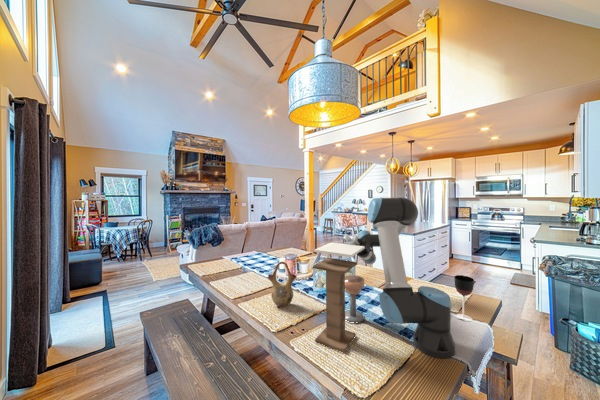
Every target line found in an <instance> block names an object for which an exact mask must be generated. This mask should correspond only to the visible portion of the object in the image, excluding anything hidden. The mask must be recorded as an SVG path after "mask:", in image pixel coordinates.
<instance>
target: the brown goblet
mask: <svg viewBox="0 0 600 400" xmlns="http://www.w3.org/2000/svg"><path fill="white" fill-rule="evenodd" d="M364 288H365V278H364V277H362V276H360V275H356V274H347V275H346V274H345V293H347V294H349V310H345V320H347V321H349V322H354V323H356V322H361V323H362V322H363V321H364V314H363V313H362V312H360V311H358V310H357V295H359V294H360V293H361V290H363V289H364ZM349 322H348V323H349Z"/></svg>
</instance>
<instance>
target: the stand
mask: <svg viewBox="0 0 600 400" xmlns="http://www.w3.org/2000/svg"><path fill="white" fill-rule="evenodd" d="M357 265H358V262H357V261H351V260H345V259H339V258H338V259H337V258H333V257H326V258H325V259H323V260H321V261H319V262H317V263H316V264H314V265H312V269H316V270H319V271H325V289H326V290H325V303H326V304H325V312H326V314H325V316H326V317H325V318H326V320H325V321H326V323H325V324H326V327H325V328H323V330H322V331H321V332H320V333H319V334H318V336H317V337H316V338H315V339H314V343H315V342H317V343H316V344H318V343H320V344H323V345H325V346H324V347H326V346H327V347H326V348H328V347H330V348H329V349H331V348H332V349H331V350H333V349H335V350H334V351H336V350H338V351H337V352H339V351H341V352H343V353H342V354H345V353H346V352H345V351H347V350H348V349H349V347H350V346H351V344H352V343H353V341H354V340H353V339H355V338H356V337H357V334H356V333H355V332H352V331H349V330H347V329H346V321H345V311H346V289H345V276H346V273H348V272H349V271H350V270H352V269H353V268H355V267H356V266H357ZM355 336H356V337H355ZM354 337H355V338H354ZM352 340H353V341H352ZM351 342H352V343H351ZM350 343H351V344H350ZM320 344H319V345H320ZM323 345H322V346H323ZM349 345H350V346H349ZM347 348H348V349H347ZM346 349H347V350H346ZM341 352H340V353H341ZM344 352H345V353H344Z"/></svg>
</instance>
